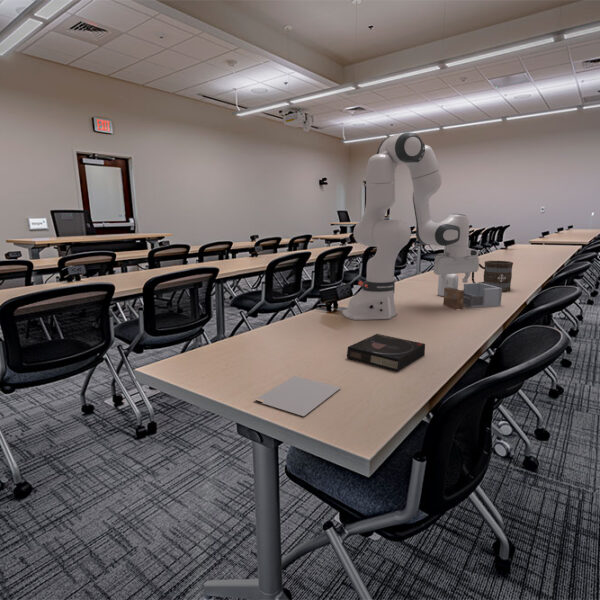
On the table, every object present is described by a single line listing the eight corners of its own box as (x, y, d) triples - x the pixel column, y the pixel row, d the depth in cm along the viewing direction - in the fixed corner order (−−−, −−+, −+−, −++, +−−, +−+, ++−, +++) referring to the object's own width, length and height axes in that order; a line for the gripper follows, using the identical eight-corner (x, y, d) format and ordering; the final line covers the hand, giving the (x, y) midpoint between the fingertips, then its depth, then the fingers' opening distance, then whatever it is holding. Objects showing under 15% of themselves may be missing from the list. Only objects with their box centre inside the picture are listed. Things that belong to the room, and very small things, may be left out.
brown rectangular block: (456, 309, 174) (457, 291, 172) (443, 304, 184) (444, 287, 182) (462, 309, 175) (463, 291, 173) (449, 304, 184) (450, 287, 183)
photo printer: (458, 298, 197) (460, 273, 194) (452, 299, 195) (453, 273, 192) (442, 294, 206) (443, 270, 203) (436, 295, 204) (437, 271, 201)
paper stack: (223, 393, 98) (223, 391, 98) (284, 361, 118) (284, 359, 118) (303, 419, 85) (303, 416, 85) (356, 378, 106) (356, 375, 105)
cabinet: (470, 308, 176) (471, 290, 174) (450, 301, 190) (451, 284, 189) (500, 305, 179) (502, 288, 178) (478, 299, 194) (480, 282, 192)
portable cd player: (346, 360, 119) (346, 347, 118) (376, 345, 132) (377, 333, 131) (396, 374, 108) (397, 360, 108) (424, 356, 121) (425, 343, 120)
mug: (511, 289, 216) (513, 261, 213) (509, 293, 205) (512, 264, 202) (471, 286, 226) (473, 259, 223) (468, 290, 215) (470, 262, 211)
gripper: (439, 254, 169) (437, 286, 172) (482, 251, 173) (480, 282, 176) (431, 252, 175) (430, 283, 178) (472, 249, 179) (471, 280, 182)
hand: (455, 283), depth 177 cm, fingers open, 8 cm apart
